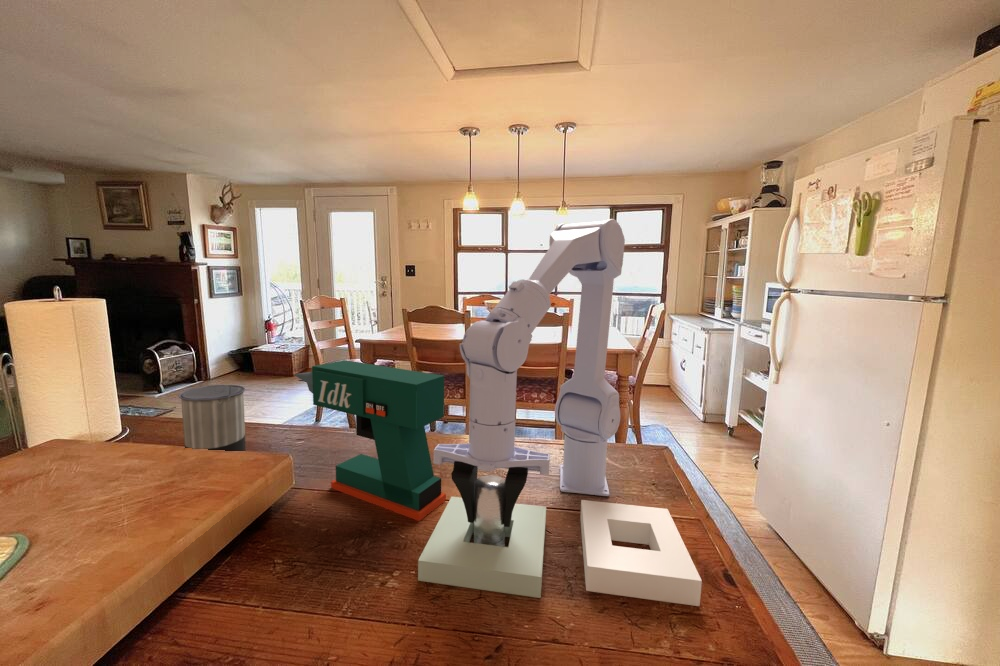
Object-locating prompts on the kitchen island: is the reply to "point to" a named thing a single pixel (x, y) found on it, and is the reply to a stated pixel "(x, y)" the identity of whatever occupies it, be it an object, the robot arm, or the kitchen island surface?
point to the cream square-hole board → (636, 554)
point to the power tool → (385, 432)
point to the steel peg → (489, 510)
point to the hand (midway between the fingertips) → (489, 520)
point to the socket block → (486, 553)
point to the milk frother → (214, 417)
